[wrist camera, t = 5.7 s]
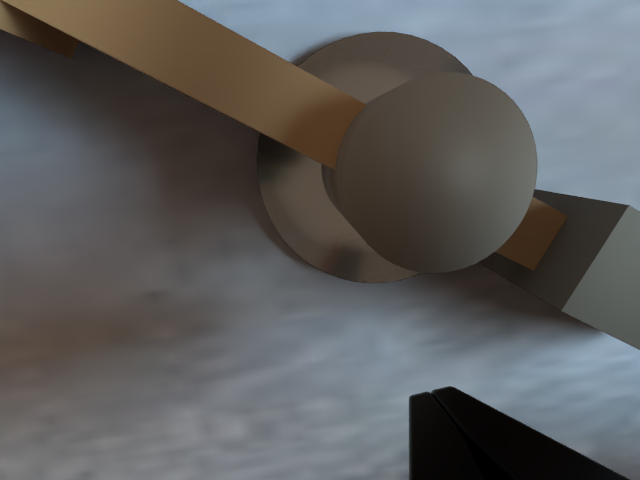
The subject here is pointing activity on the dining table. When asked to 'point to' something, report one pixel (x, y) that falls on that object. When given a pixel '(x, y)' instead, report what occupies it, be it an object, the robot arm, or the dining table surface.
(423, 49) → the pivot disc
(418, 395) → the robot arm
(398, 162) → the flipper
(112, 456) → the dining table surface
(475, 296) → the dining table surface
